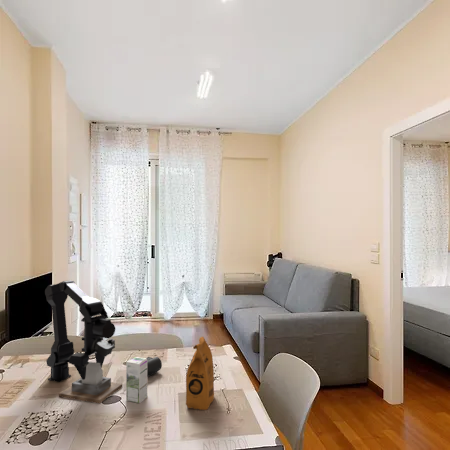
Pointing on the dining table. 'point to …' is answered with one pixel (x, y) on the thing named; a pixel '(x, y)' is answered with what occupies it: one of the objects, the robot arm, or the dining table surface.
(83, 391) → the dock
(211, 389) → the coffee package
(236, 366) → the dining table surface
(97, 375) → the tea bag
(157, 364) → the end cap
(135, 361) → the syrup box
